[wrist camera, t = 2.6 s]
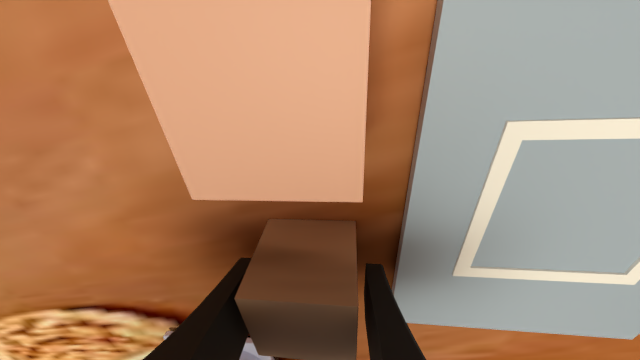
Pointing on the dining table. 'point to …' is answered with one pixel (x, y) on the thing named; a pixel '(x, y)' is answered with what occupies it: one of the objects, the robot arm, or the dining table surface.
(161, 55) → the top block
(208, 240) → the dining table surface
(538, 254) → the board
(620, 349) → the dining table surface
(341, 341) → the base block
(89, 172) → the dining table surface
